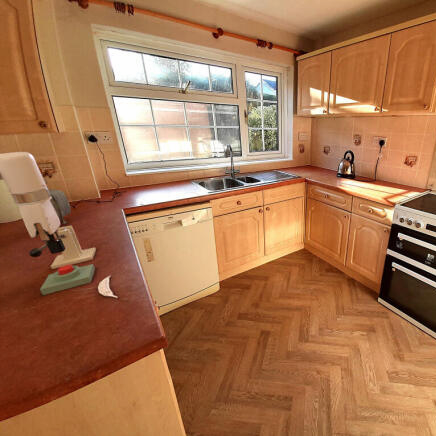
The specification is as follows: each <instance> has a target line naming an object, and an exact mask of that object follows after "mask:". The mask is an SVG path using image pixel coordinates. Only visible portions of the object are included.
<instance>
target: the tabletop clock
mask: <svg viewBox="0 0 436 436" xmlns="http://www.w3.org/2000/svg"><path fill="white" fill-rule="evenodd" d="M43 179H44V182H45V184H46V185H47V184H48V181H47V179H45V178H43ZM48 190H49V193H50V195H51V197H52V199H50V202H51V204H52V205H53V207H54V209H55V211H56V213H57V215H58V218H59V220H60V223H61V222H62V224H63V225H67V224H68V221H65V219H64V218H65V217H66V216H68V215H69V214H71V210H72V209H71V205H70V202H69V200H68V198H67V196H66V194H65V193H64V191H63V190H59V189H50V188H48Z"/></svg>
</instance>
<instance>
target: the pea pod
mask: <svg viewBox="0 0 436 436" xmlns="http://www.w3.org/2000/svg"><path fill="white" fill-rule="evenodd" d="M111 277H112V275H109V276H107V277H105V278H104V279H102V280H101V281H100V282H99V284H98V286H97V289H98V293H99V294H101V295H103V296H105V297H113V298H116V299H118V298H119V297H118V296H116V295H114V293H113V291H112V290H111V288H110V278H111Z"/></svg>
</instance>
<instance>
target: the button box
mask: <svg viewBox="0 0 436 436" xmlns="http://www.w3.org/2000/svg"><path fill="white" fill-rule="evenodd" d="M72 267H73V269H74V270H73V271H72V272H70V273H68V274H65V275H60V274H59V272H58V270H57V271H55V272H54V273H51V274H48V275H47V277H46V279H45V281H44V282H43V283H42V285H41V287H40V288H39V291H40V293H41V294H42V296H45V295H49V294H52V293H57V292H60V291H64V290H67V289H71V288H75V287H78V286H82V285H86V284H89V283H92V280H93V277H94V274H95V270H96V268H95V265H94V264H93V263H92V264H88V265H84V266H78V265H72Z"/></svg>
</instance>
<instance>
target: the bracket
mask: <svg viewBox="0 0 436 436" xmlns="http://www.w3.org/2000/svg"><path fill="white" fill-rule="evenodd" d="M65 228H67V229H68V230H64V229H65ZM57 230H58V232H59V235H60V238H61V240H62V242H63V244H64V246H65V250H64V252H61V254H58V255H57V256H56V257H55V259H54V260H53V262H52V263H51V265H50V268H51V270H55V269H59V268H60V267H62V266H65V265H76V264H80V263H84V262H88V261H91V260H93V259H94V257H95V254H96V251H97V249H96V247H90V248H86V249H82V247H81V244H80V242H79V239H78V237H77V234H76V233H75V230H74V227H73V226H72V225H67V226H62V227H58V229H57ZM70 231H71V232H72V233H71V232H70ZM60 238H58V239H60Z"/></svg>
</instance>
